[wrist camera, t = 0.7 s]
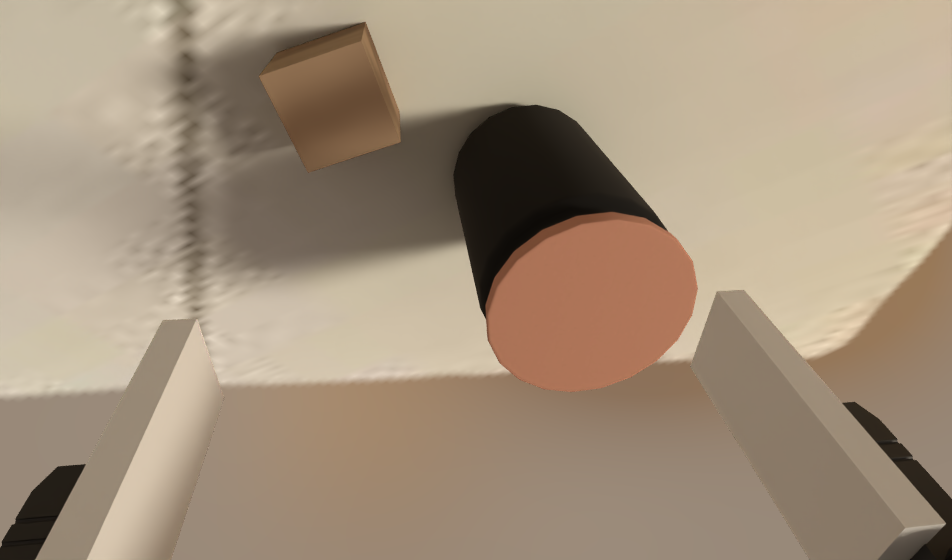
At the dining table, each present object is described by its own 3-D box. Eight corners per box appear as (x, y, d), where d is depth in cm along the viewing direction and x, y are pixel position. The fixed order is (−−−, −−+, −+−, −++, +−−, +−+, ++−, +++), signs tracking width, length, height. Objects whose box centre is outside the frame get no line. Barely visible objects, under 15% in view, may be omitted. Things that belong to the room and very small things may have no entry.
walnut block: (277, 52, 35) (258, 76, 30) (365, 21, 35) (361, 40, 30) (318, 138, 38) (308, 172, 34) (399, 111, 38) (400, 142, 33)
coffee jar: (495, 254, 46) (544, 420, 31) (424, 151, 40) (443, 295, 25) (610, 188, 43) (723, 333, 29) (553, 69, 38) (658, 175, 23)
